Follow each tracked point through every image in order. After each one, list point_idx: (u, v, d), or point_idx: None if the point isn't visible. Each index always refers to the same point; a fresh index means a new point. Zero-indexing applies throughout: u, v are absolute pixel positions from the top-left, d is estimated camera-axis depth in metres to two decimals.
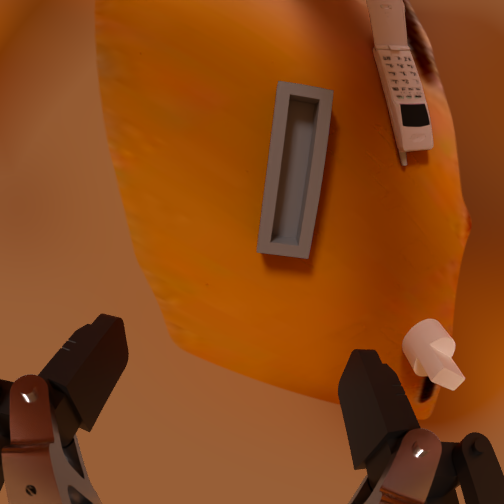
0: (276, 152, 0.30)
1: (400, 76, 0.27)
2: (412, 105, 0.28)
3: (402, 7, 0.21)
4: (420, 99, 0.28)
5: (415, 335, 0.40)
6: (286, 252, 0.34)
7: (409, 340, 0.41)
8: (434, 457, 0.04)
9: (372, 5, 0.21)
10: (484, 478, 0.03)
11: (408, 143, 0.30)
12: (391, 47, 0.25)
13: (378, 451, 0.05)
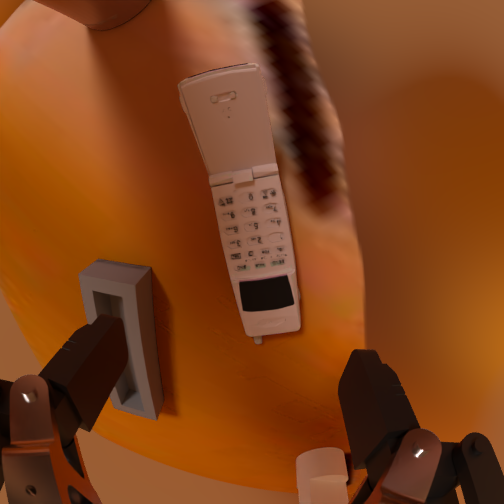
0: None
1: (248, 231, 0.23)
2: (263, 281, 0.23)
3: (261, 87, 0.16)
4: (284, 265, 0.23)
5: (303, 463, 0.36)
6: (137, 413, 0.30)
7: (298, 463, 0.37)
8: (434, 457, 0.04)
9: (194, 104, 0.17)
10: (484, 478, 0.03)
11: (254, 329, 0.26)
12: (235, 178, 0.21)
13: (378, 451, 0.05)
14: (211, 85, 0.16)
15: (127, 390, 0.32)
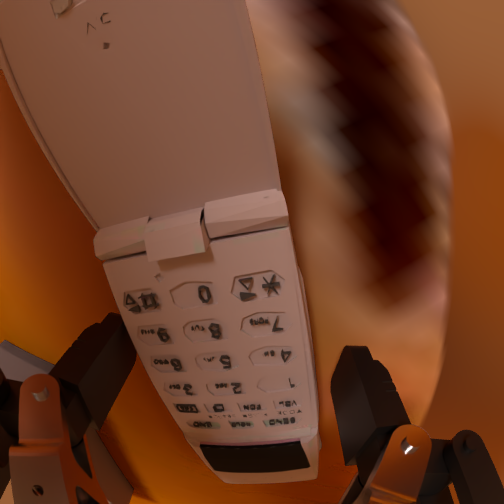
0: None
1: (208, 369, 0.08)
2: (250, 447, 0.09)
3: None
4: (294, 423, 0.09)
5: None
6: None
7: None
8: (423, 454, 0.04)
9: (17, 40, 0.03)
10: (477, 476, 0.03)
11: (238, 481, 0.11)
12: (153, 246, 0.07)
13: (368, 447, 0.05)
14: None
15: None
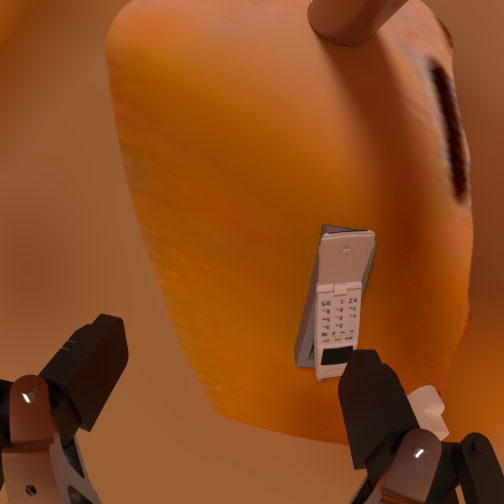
0: None
1: (335, 320, 0.33)
2: (338, 349, 0.34)
3: (370, 246, 0.27)
4: (351, 339, 0.34)
5: (413, 400, 0.45)
6: None
7: None
8: (434, 457, 0.04)
9: (326, 250, 0.28)
10: (484, 478, 0.03)
11: (323, 374, 0.36)
12: (336, 291, 0.31)
13: (378, 451, 0.05)
14: (342, 241, 0.27)
15: None
